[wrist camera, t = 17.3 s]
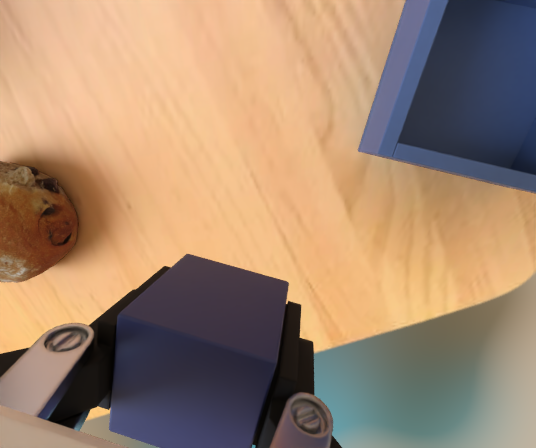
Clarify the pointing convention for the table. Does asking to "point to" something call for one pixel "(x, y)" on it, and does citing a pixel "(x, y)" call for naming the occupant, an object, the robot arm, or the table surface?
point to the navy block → (197, 356)
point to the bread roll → (32, 222)
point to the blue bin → (460, 91)
